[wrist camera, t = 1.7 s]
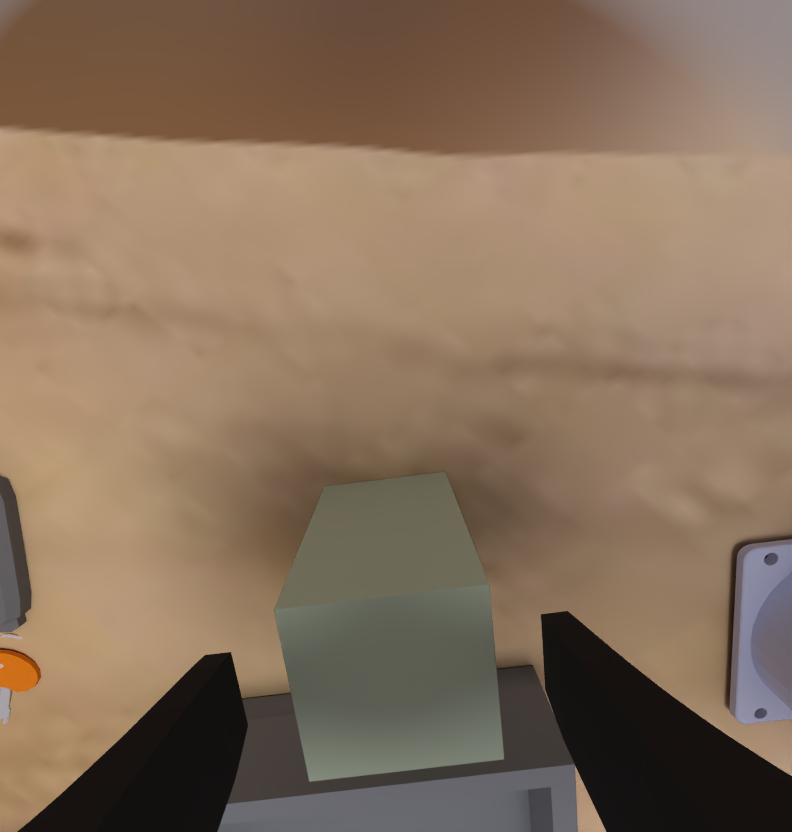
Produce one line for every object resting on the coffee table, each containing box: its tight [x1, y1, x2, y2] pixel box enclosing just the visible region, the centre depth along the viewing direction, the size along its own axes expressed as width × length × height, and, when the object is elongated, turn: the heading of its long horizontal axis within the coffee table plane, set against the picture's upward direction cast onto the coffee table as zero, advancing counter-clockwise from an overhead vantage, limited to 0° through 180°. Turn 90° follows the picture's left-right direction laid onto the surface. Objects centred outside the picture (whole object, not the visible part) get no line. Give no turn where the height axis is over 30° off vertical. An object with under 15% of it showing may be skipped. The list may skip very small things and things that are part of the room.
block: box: [274, 472, 504, 782], centre depth 13 cm, size 4×4×7 cm
